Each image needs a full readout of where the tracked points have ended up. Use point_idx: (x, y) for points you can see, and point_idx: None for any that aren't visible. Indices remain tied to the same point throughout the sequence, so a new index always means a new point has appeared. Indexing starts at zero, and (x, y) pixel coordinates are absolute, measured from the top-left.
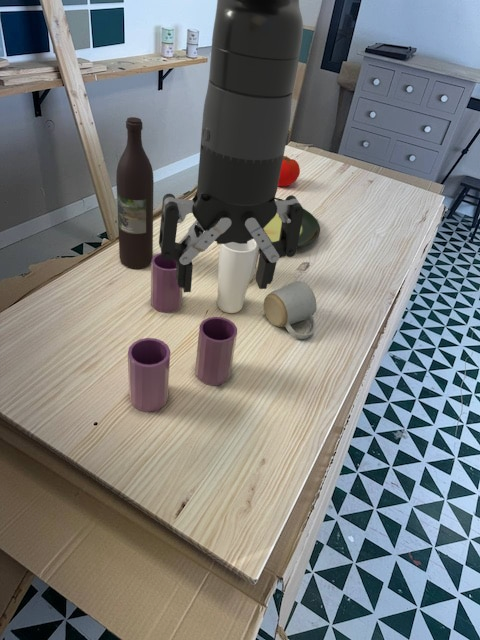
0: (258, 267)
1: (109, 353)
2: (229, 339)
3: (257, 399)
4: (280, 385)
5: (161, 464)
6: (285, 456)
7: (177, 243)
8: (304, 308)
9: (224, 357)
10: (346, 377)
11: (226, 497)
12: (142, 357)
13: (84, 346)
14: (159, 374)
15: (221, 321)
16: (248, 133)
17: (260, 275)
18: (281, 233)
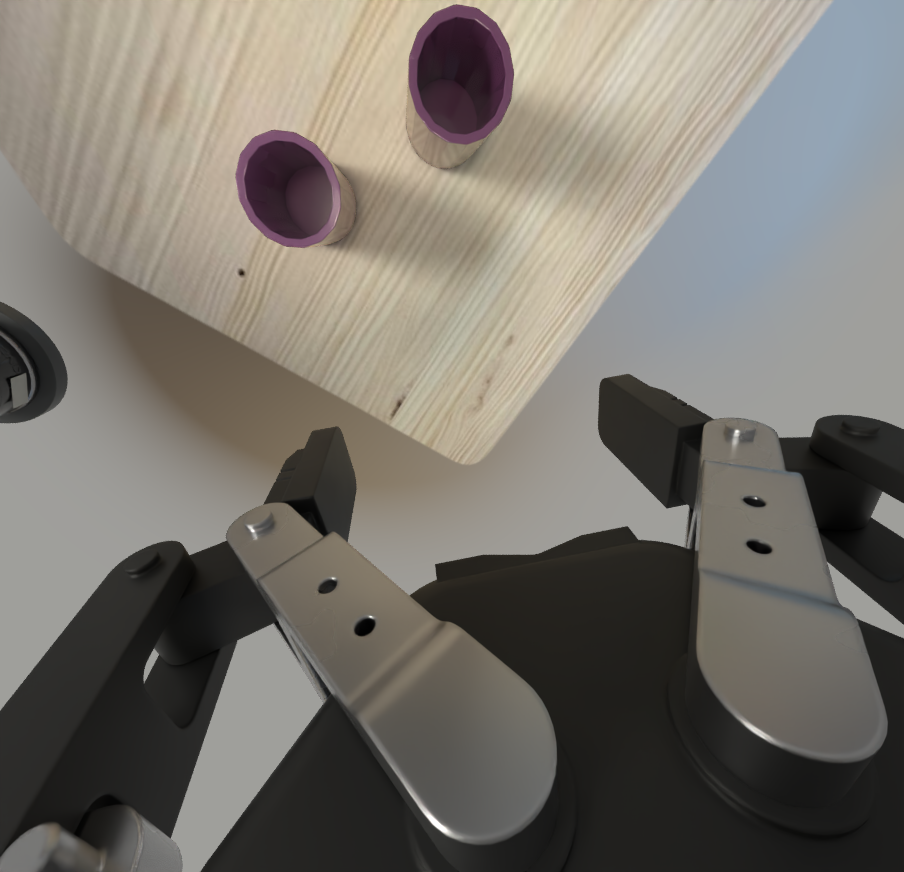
0: (632, 409)
1: (193, 45)
2: (487, 130)
3: (525, 208)
4: (578, 166)
5: (364, 348)
6: (543, 331)
7: (225, 586)
8: None
9: (470, 151)
10: (720, 139)
11: (453, 393)
12: (278, 156)
13: (117, 11)
14: (328, 239)
15: (473, 24)
16: None
17: (622, 437)
18: (882, 488)
